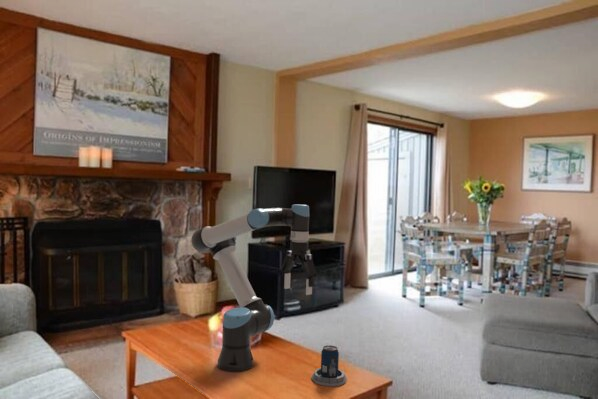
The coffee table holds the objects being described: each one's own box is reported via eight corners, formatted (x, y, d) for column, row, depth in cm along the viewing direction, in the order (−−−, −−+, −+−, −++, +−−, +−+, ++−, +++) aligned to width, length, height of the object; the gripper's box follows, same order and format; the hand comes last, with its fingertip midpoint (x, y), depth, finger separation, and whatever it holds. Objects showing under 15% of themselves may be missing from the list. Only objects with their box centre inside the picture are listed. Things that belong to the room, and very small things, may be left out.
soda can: (327, 372, 197) (328, 343, 196) (341, 377, 192) (342, 347, 192) (317, 377, 191) (318, 347, 191) (331, 382, 187) (332, 352, 187)
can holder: (304, 378, 192) (304, 371, 192) (328, 369, 202) (328, 363, 202) (329, 389, 182) (329, 383, 182) (353, 380, 192) (354, 374, 191)
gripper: (273, 238, 208) (272, 287, 208) (313, 245, 189) (311, 298, 190) (286, 237, 213) (285, 285, 213) (327, 244, 194) (325, 295, 195)
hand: (297, 291), depth 201 cm, fingers open, 13 cm apart
